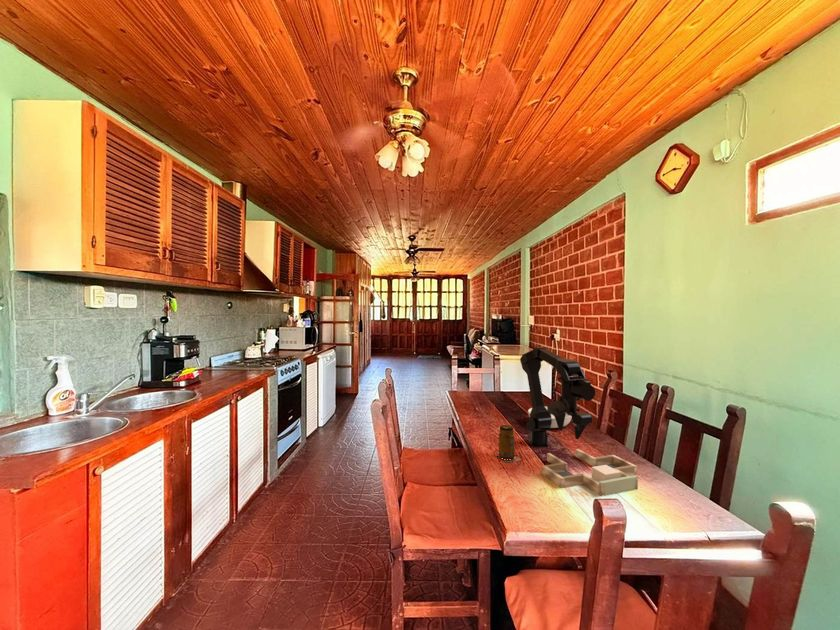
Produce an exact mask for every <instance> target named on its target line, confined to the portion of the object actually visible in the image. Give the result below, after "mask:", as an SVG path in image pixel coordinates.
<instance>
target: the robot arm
mask: <svg viewBox="0 0 840 630" xmlns="http://www.w3.org/2000/svg"><path fill="white" fill-rule="evenodd" d="M519 361H520V364H521V368H522V370H523V371H524V373H525V374H526V377H527V382H528V387H529V388H528V389H529V394H530V400H531V408H532V410H531V413H530V417H529V420H528V421H527V422H526V423H525V426H526V427H525V428H526V430H527V431H529V439H528V443H529V444H530V445H531V446H532V447H534V448H535V447H537V448H540V447H543V448H544V447H549V444H548V441H549V439H548V438H549V437H548V433H547V431H550V430H551V428H550V427H551V424H552V418H551V414H552V415H554V417H555V419H556V422H557V425H558V431H563V428H564V426H563V425H564V420H565V415H566V414H568V415H570V416H572V418H571V423H572V425H574V437H575V440H579V439H580V437H581V436H582V434H583V431H584V430H585V428H587V426H588V425H590V424H592V423H593V422H594V419H593V418H594V417H593V416H592V415H591V414H590V413H587V412H585V411H583V412H581V411H580V410H581V409H580V408H579V407H578V402H579V401H580V400H583V401H587V402H590V401H592V400H593V399H594V398H595V396H596V390H595V388H594V386H593V385H591V384H592V382H591V381H588V380H587V377H586V375H585V373H584V371H583V370H582V366H581V365H580V363H579V362H578V360H573V359H568V358H564V357H561V356H560V355H558V354H556V353H554V352H553V351H550V350H549V349H547V347H544V346H543V347H542V346H540V347H534V348H533V349H531V350H530V351H527V352H526V353H523V354H522V355H521V356H520V360H519ZM542 362H545V363H547V364H548V365H550V366H552V367H554V369H555V371H556V373H557V374H559V375H560V376H559V377H557V380H558V381H560V395H558V396H557V400H555V401H553V402H549V403H548V404H547V405H546V406H547V409H546V408H545V403H544V402H545V401H544V397H543V390H542V384H541V378H540V370H541V368H542Z"/></svg>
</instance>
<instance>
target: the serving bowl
mask: <svg viewBox="0 0 840 630" xmlns="http://www.w3.org/2000/svg"><path fill="white" fill-rule="evenodd" d="M544 406H545V405H544ZM545 408H546V409H547V405H546V406H545ZM531 410H532V407H531V408H528V410H527V413H528V417H529V418H530V413H531ZM551 418H552V424H551V427H550V429H557V428H558V425H557V422H556V419H555V417H554V415H552V414H551ZM570 422H572V416H570V415H568V414H566V415H565V420H564V425H563V427H566V426H568V424H570ZM558 429H559V428H558Z"/></svg>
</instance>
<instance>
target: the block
mask: <svg viewBox="0 0 840 630" xmlns="http://www.w3.org/2000/svg"><path fill="white" fill-rule="evenodd" d="M591 478H593V479H594V480H596V481H598V482H599V481H604V480H610V479H616V478H620V472H619V471H617V470H615V469H613V468H611V467H609V466H608V465H601V466H595V467H593V466H591Z"/></svg>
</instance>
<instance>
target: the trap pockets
mask: <svg viewBox="0 0 840 630" xmlns="http://www.w3.org/2000/svg"><path fill="white" fill-rule="evenodd" d="M594 457H595V456H594ZM595 458H597V462H596V463H597V466H601V465H608V466H609V467H611V468H614V469H615V468H616V470H617V469H618V470H620V471H622V472H624V473H626V474H628V475H630V476H632V475H635V476H638V465H636V464H633V462H629V461H627V460H626V459H623V458H621V457H619V456H617V455H615V454H609V455H603V456H596V457H595ZM564 462H565V461H564ZM564 462H563V463H557V464H551V463H549V464H545V465H541V475H542V476H544V477H545V478H547V479H548V480H549V481H551V482H552V483H553V484H555V485H557V487H560V488H561V489H564V488H569V487H574V486H575V487H576V486H580V485H584V484H583V475H584V474H585V473H584V474H582V473H576V474H573V473H572V472H570V471H569V470H567V471H565V464H566V463H567V462H566V463H564Z"/></svg>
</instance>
